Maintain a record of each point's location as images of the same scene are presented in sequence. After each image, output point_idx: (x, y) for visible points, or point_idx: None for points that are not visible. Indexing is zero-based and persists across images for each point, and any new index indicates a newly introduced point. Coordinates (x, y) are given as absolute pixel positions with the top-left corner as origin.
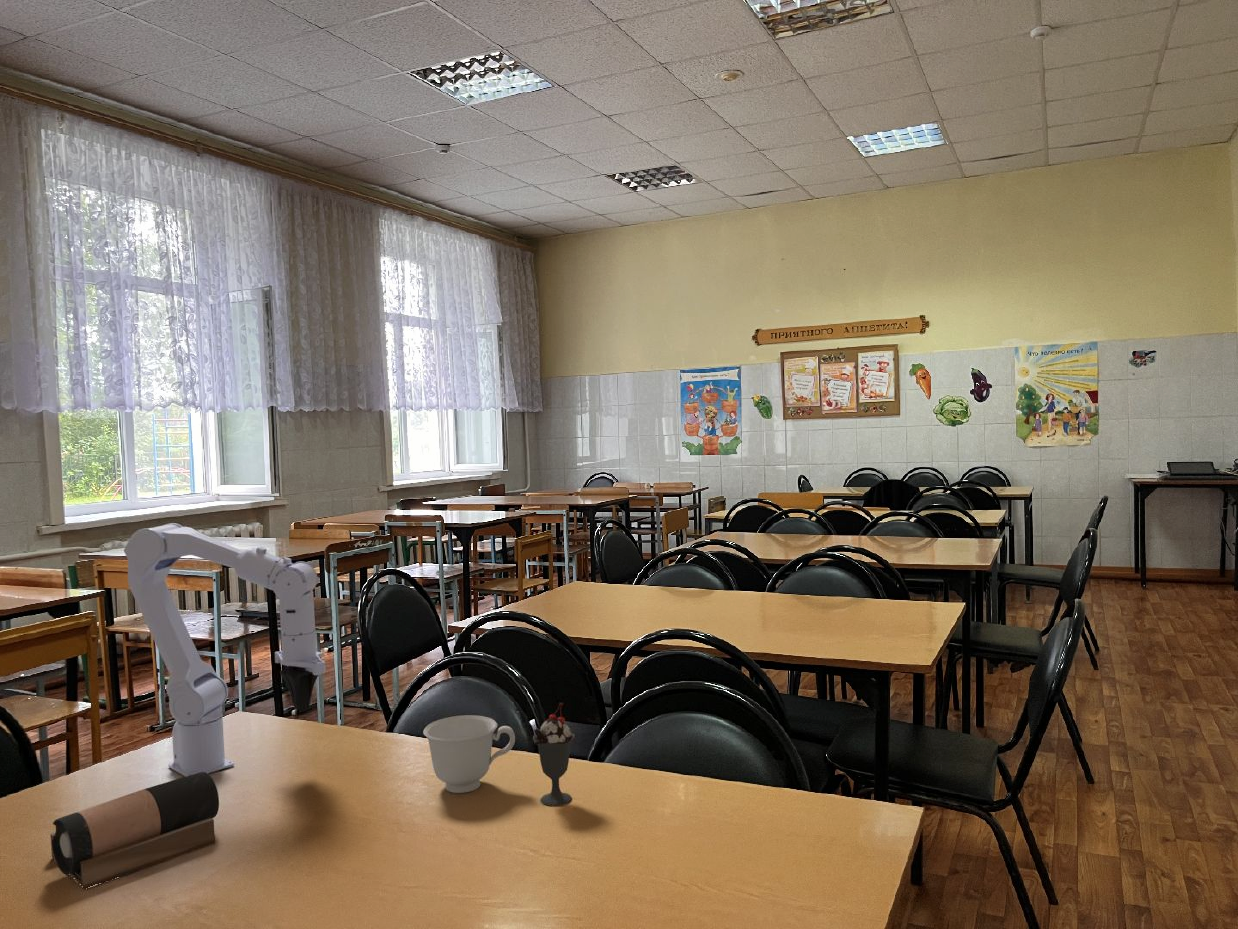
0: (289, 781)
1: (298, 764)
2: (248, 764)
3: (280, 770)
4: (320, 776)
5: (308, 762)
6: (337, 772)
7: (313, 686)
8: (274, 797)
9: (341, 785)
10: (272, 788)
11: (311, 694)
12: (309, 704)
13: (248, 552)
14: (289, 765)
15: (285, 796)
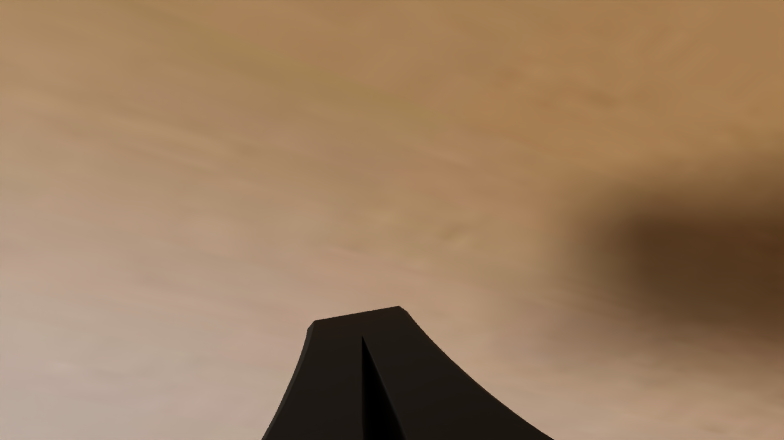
0: (492, 289)
1: (258, 171)
2: (44, 392)
3: (285, 281)
4: (559, 137)
5: (268, 109)
6: (582, 33)
7: (539, 432)
8: (629, 392)
9: (777, 96)
10: (515, 375)
11: (457, 369)
12: (411, 317)
13: None
14: (236, 218)
15: (661, 353)
